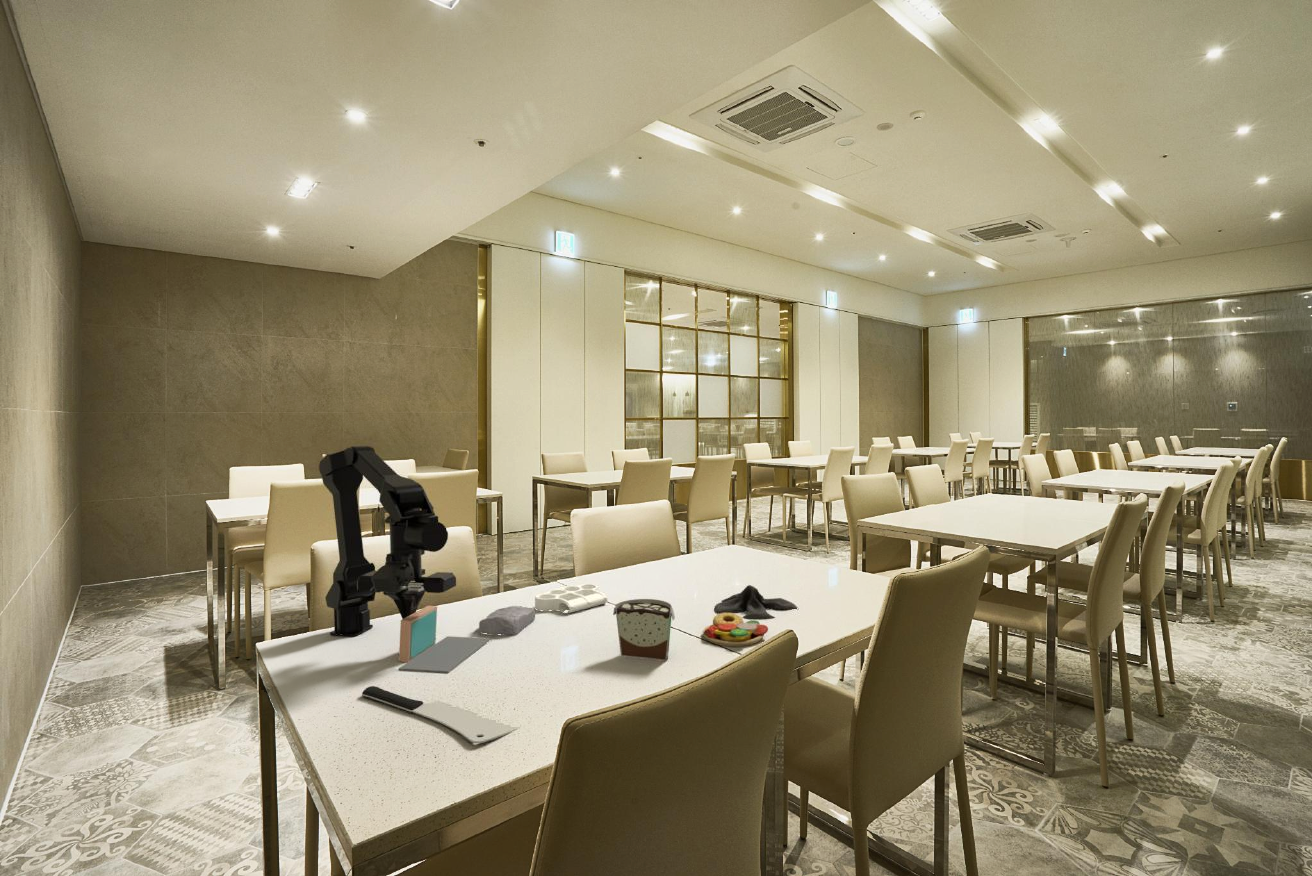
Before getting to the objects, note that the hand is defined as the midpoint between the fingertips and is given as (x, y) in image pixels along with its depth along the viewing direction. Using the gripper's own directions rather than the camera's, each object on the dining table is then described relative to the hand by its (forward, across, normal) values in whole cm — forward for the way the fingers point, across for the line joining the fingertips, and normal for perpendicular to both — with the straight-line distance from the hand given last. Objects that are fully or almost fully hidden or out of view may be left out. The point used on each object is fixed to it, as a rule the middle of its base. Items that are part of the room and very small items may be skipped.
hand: (408, 624), depth 129 cm
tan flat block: (+6, +2, 0) cm, 6 cm away
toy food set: (+6, +64, +18) cm, 67 cm away
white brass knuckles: (+6, +22, +37) cm, 44 cm away
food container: (+6, +48, +6) cm, 49 cm away
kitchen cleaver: (+7, +20, -23) cm, 31 cm away
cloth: (+7, +66, +40) cm, 77 cm away
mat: (+6, +8, 0) cm, 10 cm away
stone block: (+6, +13, +18) cm, 23 cm away
